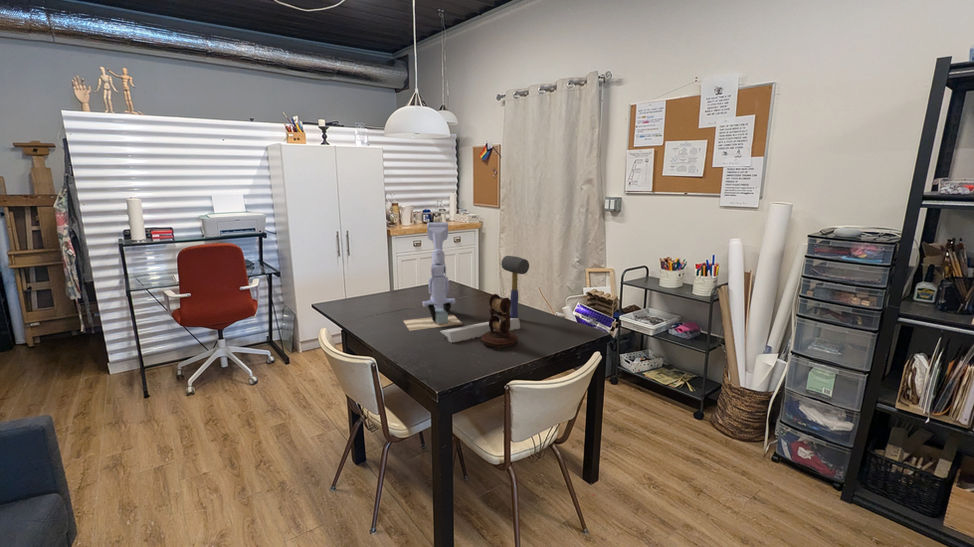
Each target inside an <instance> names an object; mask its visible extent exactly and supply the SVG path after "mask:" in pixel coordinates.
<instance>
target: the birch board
mask: <svg viewBox="0 0 974 547" xmlns="http://www.w3.org/2000/svg"><path fill="white" fill-rule="evenodd" d="M402 321H403V323H404V324H405V326H406V327H407V329H408V331H411V332H412V331H418V330H425V329H426V330H427V329H434V328H443V327H450V326H451V327H452V326H459V325H463V322H462V321H460V320H459V318H457V317H456V316H455V314H448V324H442V325H438V324H437V323H435V322H434V321H433V320H432V316H431V317H422V318H413V319H404V320H403V319H402Z"/></svg>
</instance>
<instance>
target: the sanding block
mask: <svg viewBox="0 0 974 547" xmlns="http://www.w3.org/2000/svg"><path fill="white" fill-rule="evenodd" d="M448 315H449V312H448V313H447V312H446V311H445V310H443V309H442V308H438V309H435V321H434V322H435V323H437V324H438V325H442V324H448Z"/></svg>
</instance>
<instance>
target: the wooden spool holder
mask: <svg viewBox="0 0 974 547" xmlns="http://www.w3.org/2000/svg"><path fill="white" fill-rule="evenodd" d="M510 299H511V298H509V297H504V298H503V299H501V297H500V295H499V294H497V293H493V294H492V295H491V296H490V298H489V301H488V303H489V306H490V308H489V310H488V311H489V314H490V317H489V318H490V319H489V320H488V322H489V327H490V330H491V331H489V332H487V333H485V334H483V335H482V336H481V337H480V338H481V339H480V340H481V343H483V344H484V345H487V346H491V347H496V350H499V349H500V348H501V347H510V346H513V345H516V344H518V341H519V340H518V338H519V337H518V336H517V334H516V333H513V332H512V331H509V330H510V318H511V316H510V313H511V300H510ZM494 329H495V330H494ZM493 330H494V331H493Z"/></svg>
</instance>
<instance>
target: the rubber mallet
mask: <svg viewBox="0 0 974 547" xmlns="http://www.w3.org/2000/svg"><path fill="white" fill-rule="evenodd" d="M501 268H502V269H503V270H505V271H507V272H510V273H511V275H512V276H511V290H510V298H509V299H510V301H511V306H510V316H511V318H519V311H518V310H519V308H518V307H519V306H518V305H519V290H518V280H519V279H518V278H519V277H518V274H520V275H525V274H526V273H528V271H529V269H530V262H529V261H528V260H527V259H526V258H522V257H521V256H520V257H519V256H513V255H506V256H504V257H503V258H502V260H501Z"/></svg>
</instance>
